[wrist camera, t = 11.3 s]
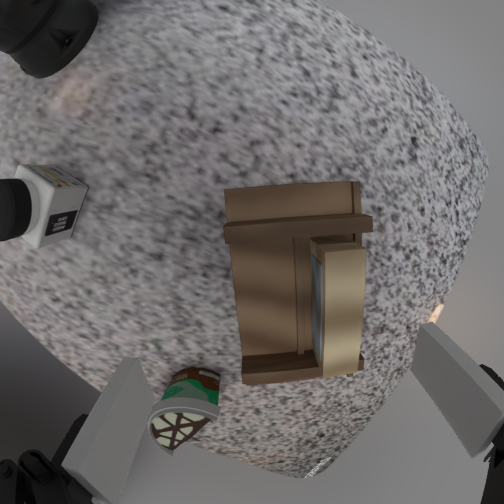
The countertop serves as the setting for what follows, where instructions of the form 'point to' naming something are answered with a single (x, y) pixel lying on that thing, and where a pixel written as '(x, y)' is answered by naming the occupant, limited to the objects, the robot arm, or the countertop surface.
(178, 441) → the food container
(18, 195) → the container
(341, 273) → the tan rectangular block
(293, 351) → the wooden slatted panel
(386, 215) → the countertop surface
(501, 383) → the robot arm
